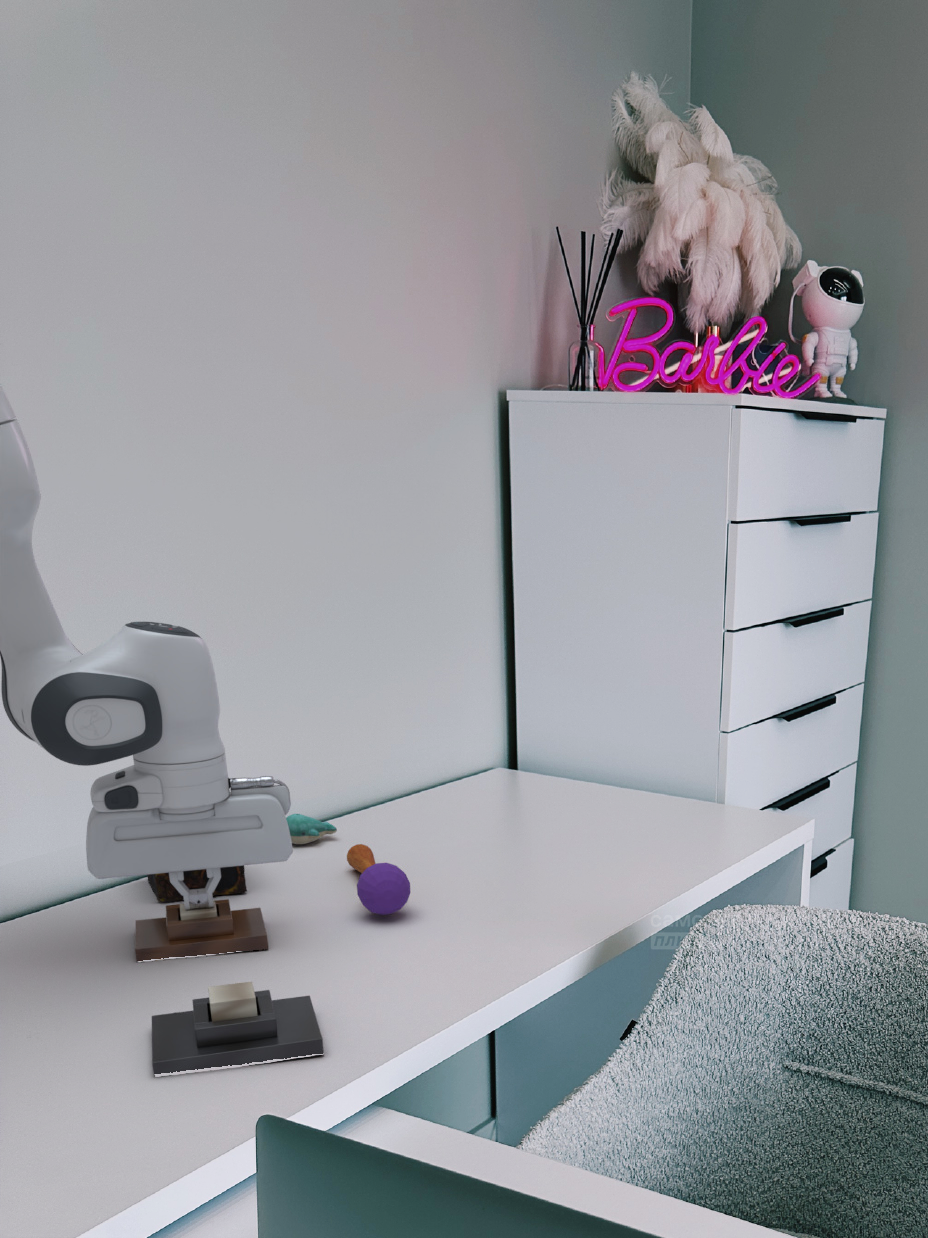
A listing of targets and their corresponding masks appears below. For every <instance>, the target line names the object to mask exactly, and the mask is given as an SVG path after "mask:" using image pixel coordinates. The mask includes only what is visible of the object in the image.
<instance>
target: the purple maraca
mask: <svg viewBox="0 0 928 1238" xmlns="http://www.w3.org/2000/svg"><path fill="white" fill-rule="evenodd" d="M346 861H347V863H348V866H350V867H351V868H353V869H354V870H356V871H357V872H359V873H361V874H360V875H359V878H358V881H357V883H356V891H357V897H358V899H359V901H360V902H361V904H362V905H363V907H364V908H366V909H367V910H368V911H369V912H371V913H373V914H376V915H380V916H384V915H385V916H386V915H392V914H394V913H397V912H398V911H400V910H401V909H402V908H403V907H404V906H405V905H406V904H407V903H408V901H409V898H410V895H411V893H412V892H411V882H410V880H409V878H408V875H407V874H406V873H405V871H404V870H402V869H401V868H400V867H399V866H397V865H396V864H392V863H389V862H378V863H376V859H375V855H374V852H373V851H372V849H371V848H370V847H369V846H368V845H366V844H363V843H359V844H354V845H352V846H351V847H350V848H349V849H348V851H347V853H346Z"/></svg>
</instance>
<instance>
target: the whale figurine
mask: <svg viewBox="0 0 928 1238" xmlns="http://www.w3.org/2000/svg"><path fill="white" fill-rule="evenodd" d="M286 820H287V824H288V827H289V832H290V836H291V842H292V844H295V845H306V844H309V843H311V842H315V841H317V840H319V839H321V838H323V837H324V836H326V835H333V834H335V833H337V832H338V828H337V827H336V826H335V825H333V824H331V823H330V822H328V821H321V820H318V819H316V818H314V817H311V816H307V815H304V814H301V813H292V814H290V815H288V816H286Z"/></svg>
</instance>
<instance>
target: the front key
mask: <svg viewBox="0 0 928 1238" xmlns="http://www.w3.org/2000/svg"><path fill="white" fill-rule="evenodd" d="M254 987H255V986H254V982H253V981H246V982H245V981H244V982H235V983H227V984H220V985H212V986H208V987H207V990H208V991H207V992H208V997H209V1001H210V1009H211V1017H212V1022H215V1021H222V1020H230V1019H237V1018H245V1017H253V1016H258V1015H257V1006H256V997H255V992H256V991H255V989H254Z"/></svg>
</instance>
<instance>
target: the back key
mask: <svg viewBox="0 0 928 1238" xmlns="http://www.w3.org/2000/svg"><path fill="white" fill-rule="evenodd" d="M215 901H216V900H213V903H214V907H211V908H201V909H200V908H199V909H191V910H185V905H184V903H179V904H180V915H181V920H190V919H200V918H210V917H217V911H216V904H215Z"/></svg>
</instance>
